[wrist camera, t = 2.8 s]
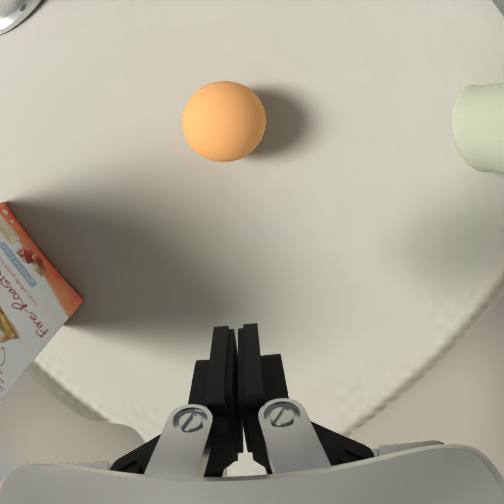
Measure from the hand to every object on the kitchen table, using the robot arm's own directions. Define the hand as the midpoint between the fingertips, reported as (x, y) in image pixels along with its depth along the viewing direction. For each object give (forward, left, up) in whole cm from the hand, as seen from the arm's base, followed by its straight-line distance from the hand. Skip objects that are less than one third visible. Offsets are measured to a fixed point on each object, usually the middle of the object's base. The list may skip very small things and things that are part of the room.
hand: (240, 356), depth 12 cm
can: (+26, +10, -17) cm, 32 cm away
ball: (0, +10, -13) cm, 17 cm away
